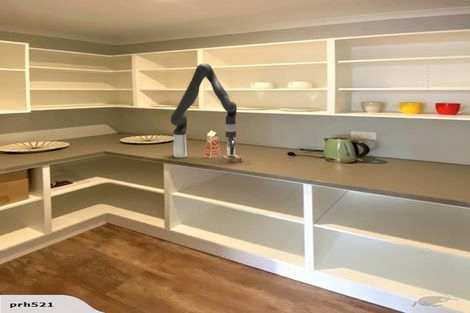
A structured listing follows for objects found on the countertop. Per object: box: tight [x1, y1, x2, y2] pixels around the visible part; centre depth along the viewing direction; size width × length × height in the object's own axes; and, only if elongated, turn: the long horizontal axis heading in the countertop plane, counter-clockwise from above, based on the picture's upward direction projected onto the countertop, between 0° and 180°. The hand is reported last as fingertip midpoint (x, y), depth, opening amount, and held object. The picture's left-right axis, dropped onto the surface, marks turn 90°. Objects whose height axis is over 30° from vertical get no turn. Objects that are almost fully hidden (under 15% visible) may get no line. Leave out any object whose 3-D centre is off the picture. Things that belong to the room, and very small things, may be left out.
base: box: [220, 154, 242, 164], centre depth 272 cm, size 12×12×3 cm
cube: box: [226, 145, 236, 156], centre depth 271 cm, size 5×5×6 cm
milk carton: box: [204, 130, 221, 159], centre depth 287 cm, size 9×9×20 cm
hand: (231, 153), depth 272 cm, fingers closed on cube, 5 cm apart
